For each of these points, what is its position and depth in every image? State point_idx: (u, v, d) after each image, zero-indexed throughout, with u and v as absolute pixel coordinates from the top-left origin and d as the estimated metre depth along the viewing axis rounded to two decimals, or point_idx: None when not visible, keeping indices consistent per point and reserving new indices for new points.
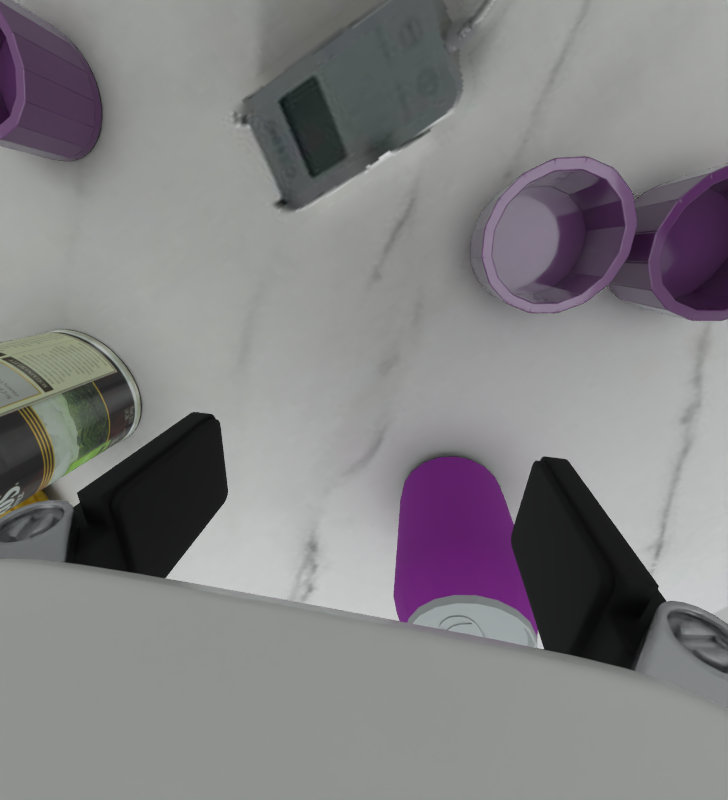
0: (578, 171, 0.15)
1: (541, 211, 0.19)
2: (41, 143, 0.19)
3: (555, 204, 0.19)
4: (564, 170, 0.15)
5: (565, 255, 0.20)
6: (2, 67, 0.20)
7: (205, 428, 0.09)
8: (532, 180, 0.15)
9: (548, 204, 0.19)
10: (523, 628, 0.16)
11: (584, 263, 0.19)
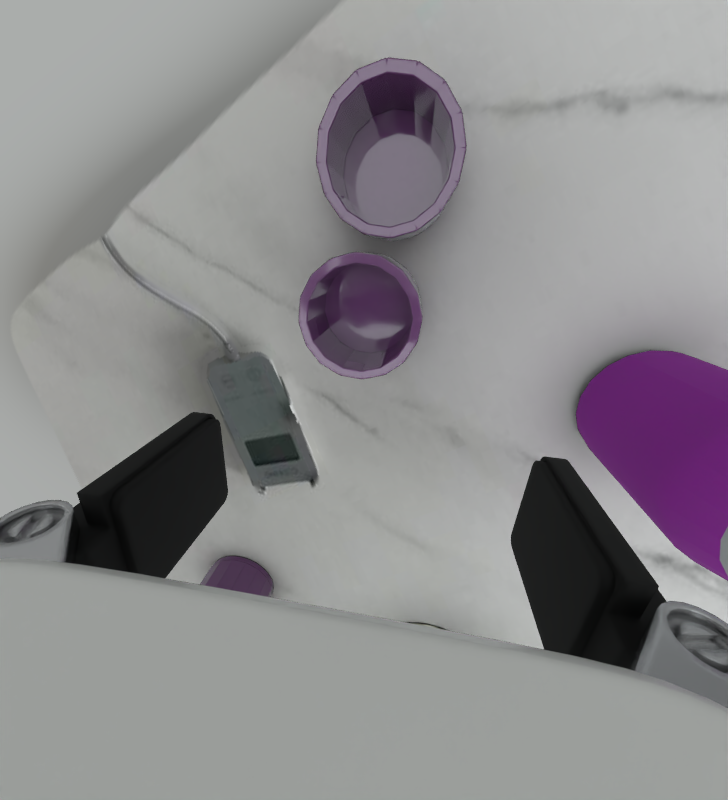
0: (310, 300, 0.19)
1: (344, 300, 0.22)
2: None
3: (340, 288, 0.22)
4: (307, 314, 0.19)
5: (383, 278, 0.21)
6: None
7: (205, 428, 0.09)
8: (311, 338, 0.19)
9: (340, 294, 0.22)
10: None
11: None
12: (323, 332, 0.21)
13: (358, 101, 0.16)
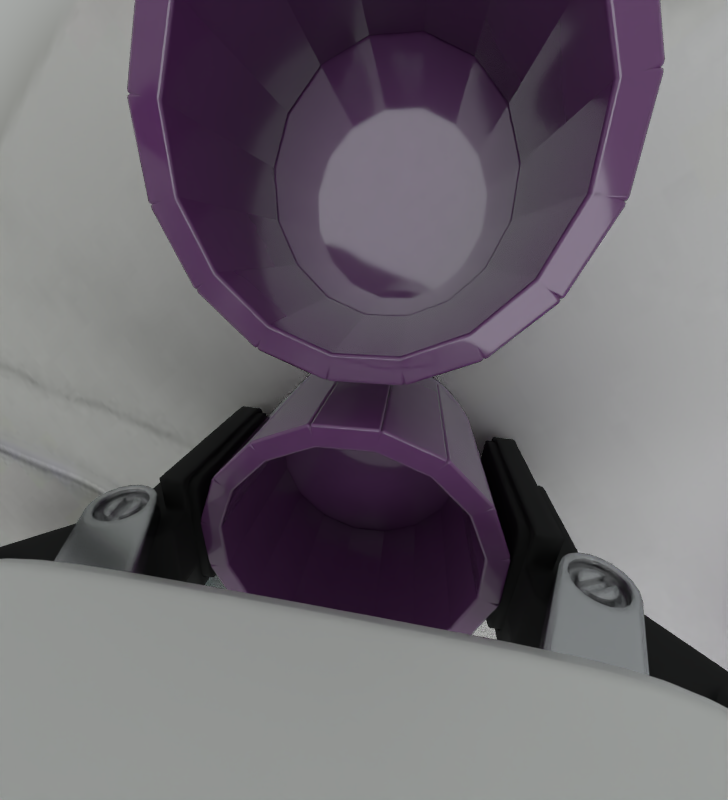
0: (229, 516, 0.08)
1: (321, 448, 0.11)
2: None
3: None
4: (225, 550, 0.08)
5: None
6: None
7: (257, 421, 0.10)
8: None
9: None
10: None
11: None
12: (284, 529, 0.10)
13: None
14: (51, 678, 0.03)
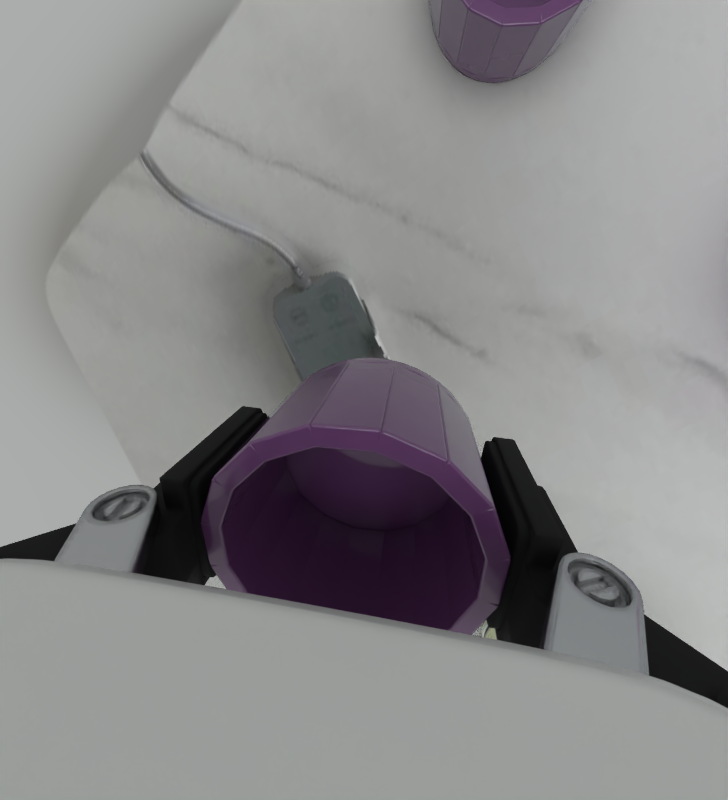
0: (229, 517, 0.08)
1: (321, 449, 0.11)
2: None
3: None
4: (225, 551, 0.08)
5: None
6: None
7: (257, 421, 0.10)
8: None
9: None
10: None
11: None
12: (284, 529, 0.10)
13: None
14: (51, 678, 0.03)
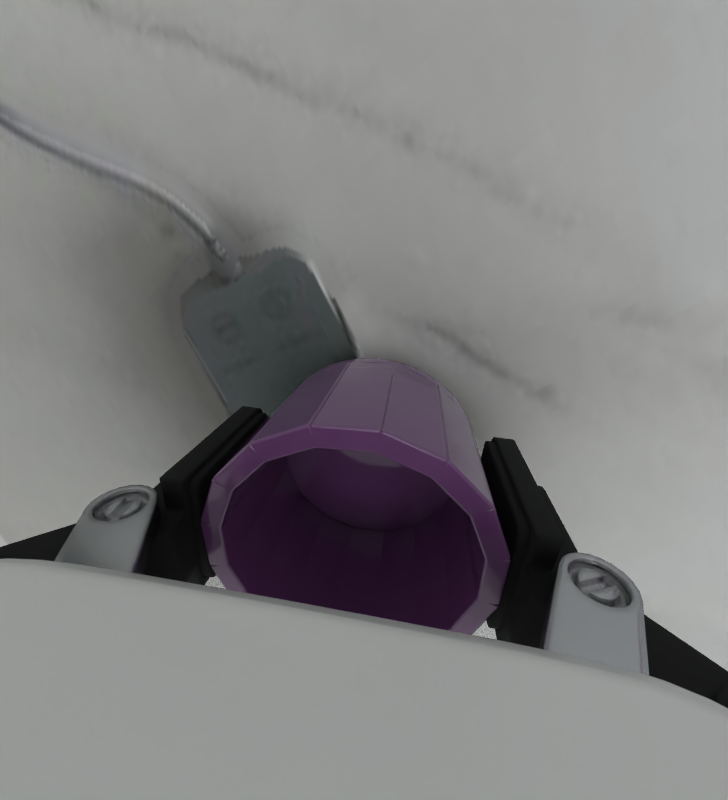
0: (229, 517, 0.08)
1: (321, 449, 0.11)
2: None
3: None
4: (225, 551, 0.08)
5: None
6: None
7: (257, 421, 0.10)
8: None
9: None
10: None
11: None
12: (284, 529, 0.10)
13: None
14: (51, 678, 0.03)
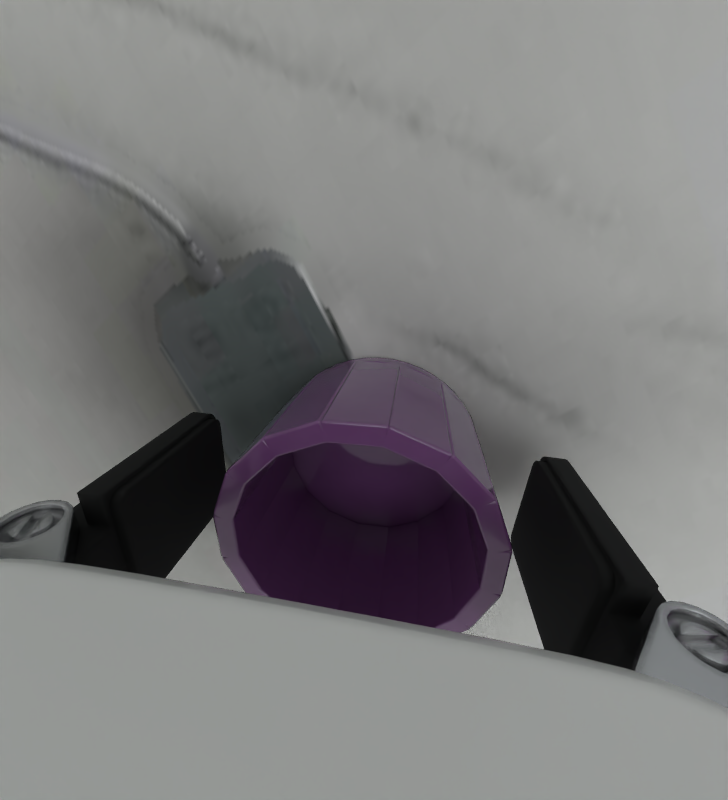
0: (240, 510, 0.08)
1: (327, 446, 0.11)
2: None
3: None
4: (237, 543, 0.08)
5: None
6: None
7: (205, 428, 0.09)
8: (255, 585, 0.09)
9: None
10: None
11: None
12: (291, 524, 0.11)
13: None
14: (51, 678, 0.03)
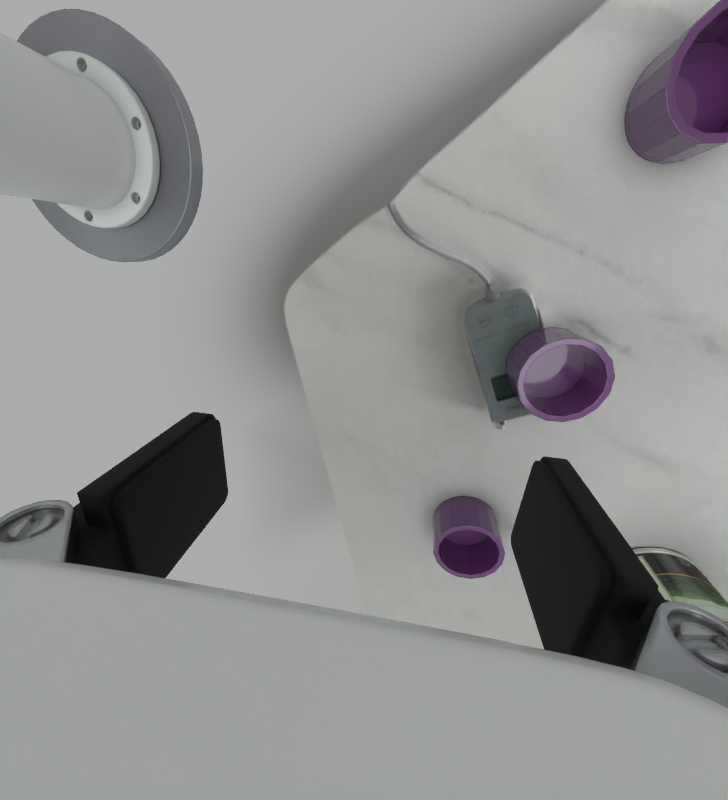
0: None
1: None
2: (500, 535, 0.34)
3: None
4: (524, 380, 0.26)
5: None
6: (449, 538, 0.38)
7: (205, 428, 0.09)
8: (525, 396, 0.27)
9: None
10: None
11: None
12: None
13: None
14: (51, 678, 0.03)
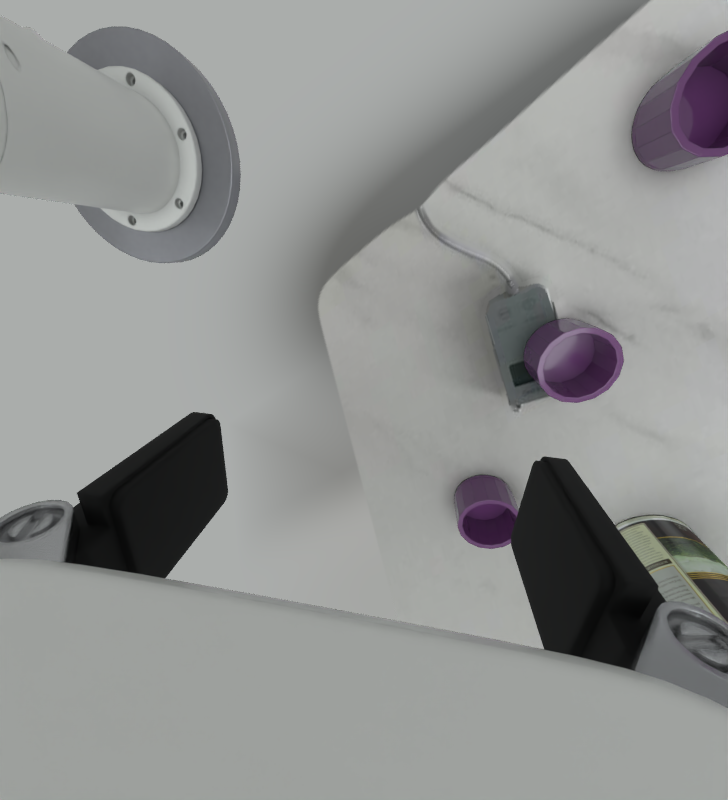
0: None
1: None
2: None
3: None
4: (543, 366, 0.30)
5: None
6: (469, 514, 0.41)
7: (205, 428, 0.09)
8: (544, 380, 0.30)
9: None
10: None
11: None
12: None
13: None
14: (51, 678, 0.03)
